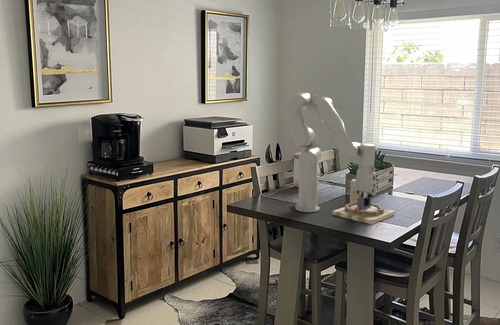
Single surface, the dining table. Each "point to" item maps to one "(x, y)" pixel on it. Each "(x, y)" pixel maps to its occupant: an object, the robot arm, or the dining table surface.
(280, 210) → the dining table surface
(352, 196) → the supplement box
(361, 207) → the dial
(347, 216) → the dial housing
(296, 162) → the cracker box
